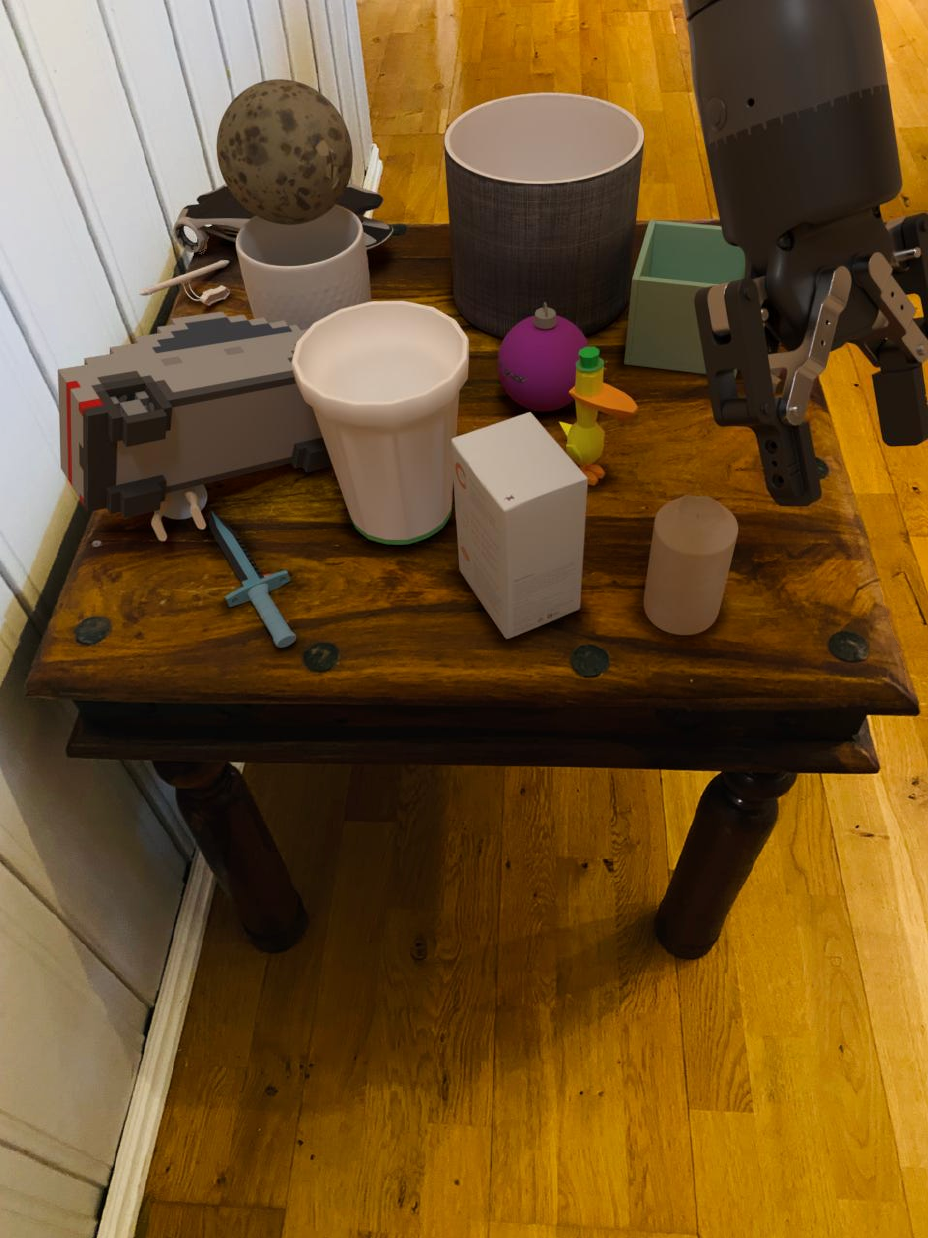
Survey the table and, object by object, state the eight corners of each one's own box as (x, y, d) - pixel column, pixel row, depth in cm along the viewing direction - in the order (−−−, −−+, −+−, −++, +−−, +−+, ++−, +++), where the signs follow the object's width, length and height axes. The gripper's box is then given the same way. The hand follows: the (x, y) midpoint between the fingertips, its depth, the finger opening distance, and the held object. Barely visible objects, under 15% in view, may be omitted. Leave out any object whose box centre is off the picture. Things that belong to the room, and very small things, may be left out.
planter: (417, 307, 99) (403, 150, 87) (519, 230, 108) (518, 77, 96) (566, 366, 92) (573, 203, 80) (662, 278, 101) (681, 119, 89)
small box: (582, 610, 73) (591, 478, 63) (505, 642, 71) (502, 511, 61) (529, 541, 78) (530, 408, 68) (457, 569, 76) (447, 437, 66)
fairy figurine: (261, 529, 78) (249, 461, 87) (241, 477, 75) (231, 413, 84) (117, 573, 77) (121, 499, 86) (91, 522, 74) (98, 452, 83)
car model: (159, 222, 105) (176, 267, 109) (355, 231, 96) (367, 280, 99) (218, 179, 112) (231, 222, 115) (406, 183, 102) (415, 230, 106)
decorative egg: (350, 253, 80) (302, 225, 92) (389, 113, 77) (334, 103, 89) (220, 210, 75) (187, 187, 87) (255, 57, 71) (216, 55, 83)
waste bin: (745, 314, 96) (762, 229, 89) (735, 377, 90) (753, 291, 83) (640, 303, 98) (649, 219, 91) (623, 364, 92) (631, 278, 85)
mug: (312, 299, 101) (289, 173, 91) (412, 316, 98) (400, 187, 88) (244, 386, 92) (210, 257, 82) (352, 407, 89) (330, 276, 79)
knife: (179, 515, 81) (236, 492, 82) (183, 526, 81) (239, 503, 83) (255, 649, 70) (319, 620, 71) (259, 660, 71) (322, 631, 72)
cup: (507, 522, 79) (504, 361, 67) (370, 588, 75) (342, 429, 63) (427, 439, 86) (412, 280, 74) (299, 495, 82) (261, 337, 70)
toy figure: (637, 480, 82) (651, 358, 72) (614, 505, 80) (626, 383, 71) (568, 450, 84) (573, 329, 75) (545, 474, 83) (547, 352, 73)
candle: (671, 647, 70) (689, 550, 63) (628, 596, 74) (640, 498, 66) (734, 618, 72) (759, 519, 64) (689, 569, 75) (708, 470, 67)
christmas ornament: (598, 424, 86) (605, 325, 79) (506, 436, 86) (504, 337, 78) (578, 368, 92) (583, 270, 84) (491, 379, 91) (488, 282, 84)
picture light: (137, 288, 96) (135, 309, 97) (173, 308, 95) (171, 328, 96) (226, 256, 106) (224, 275, 108) (259, 273, 105) (256, 292, 107)
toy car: (387, 371, 79) (324, 296, 83) (96, 429, 66) (37, 337, 70) (363, 457, 85) (306, 385, 89) (95, 525, 72) (42, 437, 76)
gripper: (752, 108, 36) (830, 529, 41) (970, 53, 42) (1014, 421, 47) (613, 165, 42) (695, 524, 47) (821, 109, 48) (874, 429, 53)
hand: (855, 472), depth 47 cm, fingers open, 8 cm apart
